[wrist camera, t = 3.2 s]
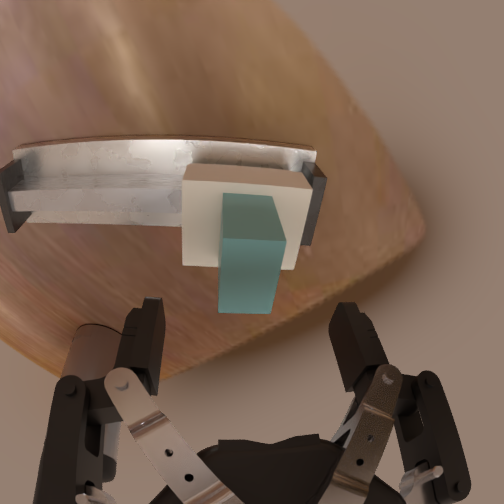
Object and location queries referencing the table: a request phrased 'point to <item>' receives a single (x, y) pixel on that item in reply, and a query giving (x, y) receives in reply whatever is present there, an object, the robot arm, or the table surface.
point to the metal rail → (148, 162)
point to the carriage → (243, 229)
